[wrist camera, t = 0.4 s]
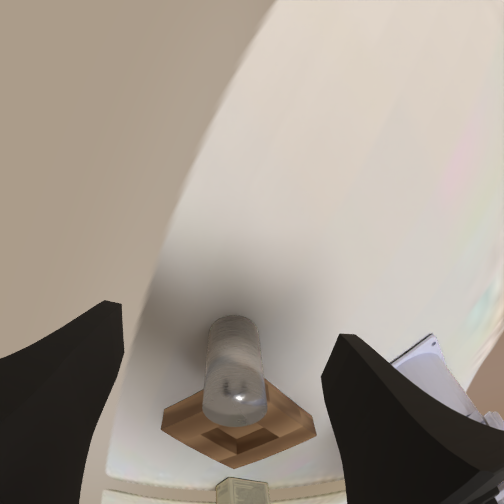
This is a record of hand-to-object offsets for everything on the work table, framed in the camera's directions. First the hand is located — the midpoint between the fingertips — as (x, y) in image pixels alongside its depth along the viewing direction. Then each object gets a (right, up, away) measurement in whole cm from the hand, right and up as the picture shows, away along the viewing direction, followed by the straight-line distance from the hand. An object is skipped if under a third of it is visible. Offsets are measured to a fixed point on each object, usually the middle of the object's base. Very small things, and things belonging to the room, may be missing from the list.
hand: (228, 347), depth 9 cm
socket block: (0, -12, +16) cm, 20 cm away
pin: (-1, -3, +12) cm, 13 cm away
